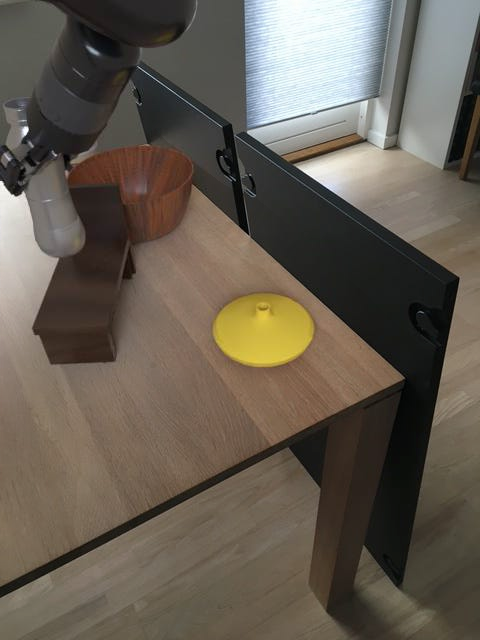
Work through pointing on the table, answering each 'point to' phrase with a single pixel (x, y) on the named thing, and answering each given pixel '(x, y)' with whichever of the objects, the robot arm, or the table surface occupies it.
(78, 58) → the robot arm
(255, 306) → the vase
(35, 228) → the plastic bottle
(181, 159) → the bowl
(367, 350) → the table surface
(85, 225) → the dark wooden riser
